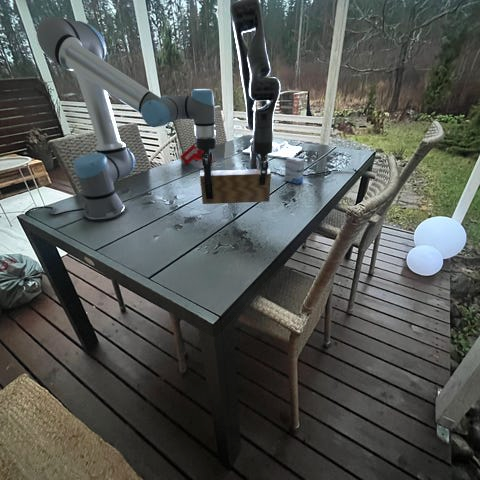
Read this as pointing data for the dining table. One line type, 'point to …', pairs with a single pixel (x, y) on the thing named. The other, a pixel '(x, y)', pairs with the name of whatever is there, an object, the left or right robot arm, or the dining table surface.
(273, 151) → the relief map
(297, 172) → the ink box
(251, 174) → the box
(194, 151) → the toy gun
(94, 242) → the dining table surface
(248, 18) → the right robot arm
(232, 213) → the dining table surface
